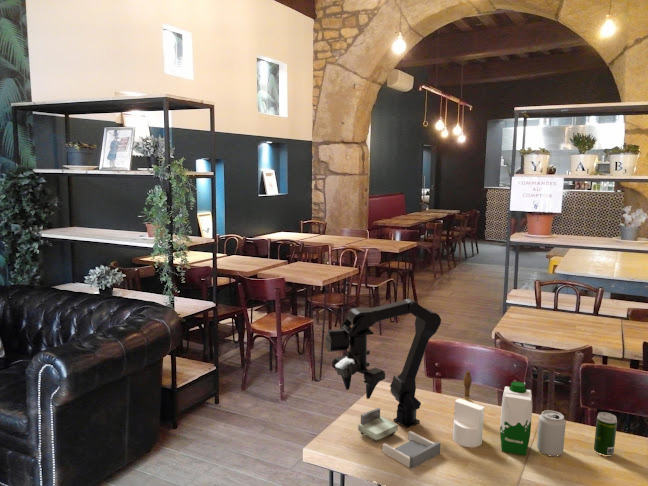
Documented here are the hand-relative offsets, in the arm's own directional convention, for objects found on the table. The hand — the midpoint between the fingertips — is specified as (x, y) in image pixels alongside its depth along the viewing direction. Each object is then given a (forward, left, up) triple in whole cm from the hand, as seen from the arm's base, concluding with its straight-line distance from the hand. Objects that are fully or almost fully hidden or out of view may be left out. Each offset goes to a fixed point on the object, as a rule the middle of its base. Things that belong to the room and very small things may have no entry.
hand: (357, 394), depth 171 cm
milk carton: (-30, +39, -12) cm, 50 cm away
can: (-37, +47, -12) cm, 61 cm away
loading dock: (-3, +21, -12) cm, 24 cm away
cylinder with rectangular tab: (-23, +27, -12) cm, 37 cm away
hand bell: (-37, +17, -12) cm, 42 cm away
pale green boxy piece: (-3, +7, -12) cm, 14 cm away
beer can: (-49, +58, -12) cm, 77 cm away
